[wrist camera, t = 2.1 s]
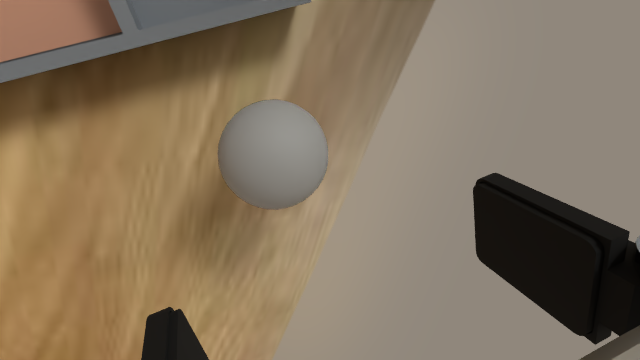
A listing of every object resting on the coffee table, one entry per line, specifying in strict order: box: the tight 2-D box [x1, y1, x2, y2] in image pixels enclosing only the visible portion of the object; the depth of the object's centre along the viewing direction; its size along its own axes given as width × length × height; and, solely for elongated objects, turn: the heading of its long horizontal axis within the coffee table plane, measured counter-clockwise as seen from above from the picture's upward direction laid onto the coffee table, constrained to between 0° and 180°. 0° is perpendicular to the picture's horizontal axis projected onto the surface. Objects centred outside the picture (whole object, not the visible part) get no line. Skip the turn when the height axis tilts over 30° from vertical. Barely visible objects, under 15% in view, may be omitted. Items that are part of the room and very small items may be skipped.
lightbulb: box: [218, 99, 328, 209], centre depth 22 cm, size 6×6×11 cm
